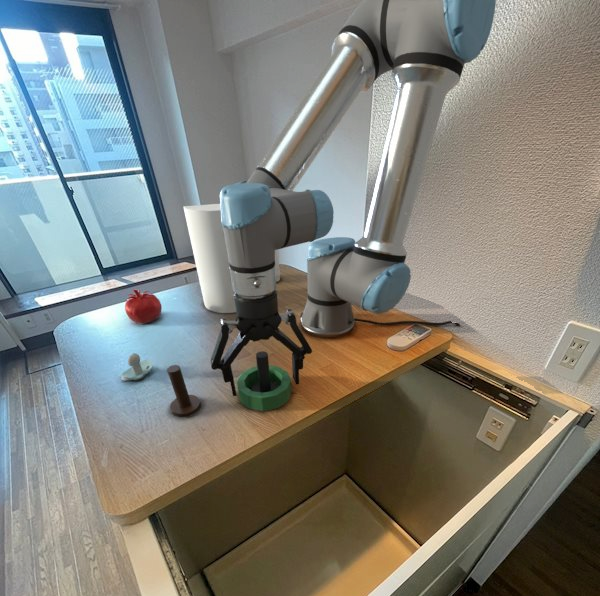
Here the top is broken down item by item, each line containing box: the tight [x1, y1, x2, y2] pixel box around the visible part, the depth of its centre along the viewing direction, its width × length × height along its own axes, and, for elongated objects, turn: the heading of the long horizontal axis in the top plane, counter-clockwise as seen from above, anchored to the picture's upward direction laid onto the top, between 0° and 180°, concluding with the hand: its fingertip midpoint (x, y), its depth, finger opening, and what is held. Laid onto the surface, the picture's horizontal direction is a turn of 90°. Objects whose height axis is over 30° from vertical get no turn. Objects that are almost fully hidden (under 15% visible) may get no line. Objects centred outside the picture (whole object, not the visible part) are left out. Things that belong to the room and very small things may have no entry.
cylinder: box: [183, 203, 236, 314], centre depth 98 cm, size 17×17×28 cm
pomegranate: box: [124, 288, 163, 325], centre depth 96 cm, size 10×10×9 cm
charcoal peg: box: [251, 350, 280, 393], centre depth 68 cm, size 6×6×10 cm
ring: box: [236, 364, 292, 412], centre depth 70 cm, size 11×11×4 cm
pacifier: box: [121, 352, 154, 382], centre depth 75 cm, size 7×6×6 cm
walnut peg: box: [166, 364, 202, 418], centre depth 65 cm, size 6×6×10 cm
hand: (265, 386), depth 70 cm, fingers open, 13 cm apart
